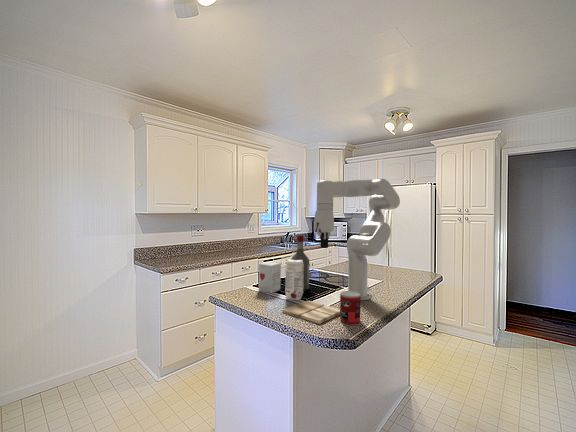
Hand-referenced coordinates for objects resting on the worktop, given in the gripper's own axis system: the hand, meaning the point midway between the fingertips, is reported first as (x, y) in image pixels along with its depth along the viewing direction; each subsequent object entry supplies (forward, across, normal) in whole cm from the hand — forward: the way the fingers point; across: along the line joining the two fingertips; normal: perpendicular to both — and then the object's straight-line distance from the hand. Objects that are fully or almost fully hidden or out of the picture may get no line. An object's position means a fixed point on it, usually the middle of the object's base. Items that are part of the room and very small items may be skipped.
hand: (324, 247), depth 133 cm
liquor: (+27, -16, -28) cm, 42 cm away
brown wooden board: (+27, +10, -4) cm, 29 cm away
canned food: (+27, +7, +18) cm, 33 cm away
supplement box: (+27, -1, -37) cm, 46 cm away
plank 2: (+27, +6, +7) cm, 28 cm away
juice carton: (+27, 0, -18) cm, 33 cm away
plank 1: (+27, +15, +7) cm, 31 cm away
